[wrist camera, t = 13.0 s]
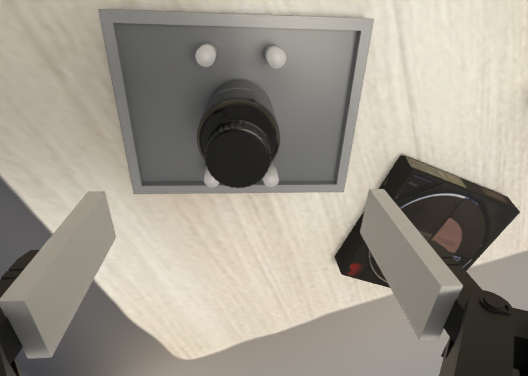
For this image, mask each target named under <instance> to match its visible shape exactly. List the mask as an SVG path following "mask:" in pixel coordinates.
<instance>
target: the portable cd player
mask: <svg viewBox="0 0 528 376" xmlns="http://www.w3.org/2000/svg"><path fill="white" fill-rule="evenodd" d="M379 189H384V190H385V191H386V192H387V194H388V195H389V196H390V197H391V198H392V200H393V201H394V202H395V203H396V204H397V206H398V207H399V208H400V209H401V211H402V212H403V213H404V214H405V215H406V217H407V218H408V219H409V220H410V221H411V223H412V224H413V225H414V226H415V228H416V229H417V230H418V231H419V232H420V234H421V235H422V236H423V237H424V239H425V240H426V241H430V240H434V241H436V242H437V243H439V244H440V245H442V246H443V247H445V248H446V249H447V250H448V251H449V253H450V254H451V255H452V256H453V258H455V259H456V261H457V262H458V263H459V265H461V266H462V267H463V269H464V270H465V271H467V270H468V269H469V267H470V266H471V265H472V264H473V263H474V262H475V261H476V260H477V259H478V258H479V257H480V255H481V254H482V253H483V252H484V251H485V250H486V249H487V248H488V247H489V246H490V244H491V243H492V242H493V241H494V240H495V239H496V238H497V237H498V236H499V235H500V234H501V232H502V231H503V230H504V229H505V228H506V227H507V226H508V225H509V224H510V223H511V222H512V220H513V219H514V218H515V217H516V216H517V215H518V214H519V213H520V211H519V210H518V209H517V208H516V207H515V205H514V204H513V203H512V202H511V200H510V199H509V198H508V197H507V196H504V195H502V194H499V193H497V192H494V191H492V190H489V189H487V188H484V187H482V186H479V185H477V184H474V183H472V182H469V181H467V180H464V179H462V178H459V177H457V176H454V175H452V174H449V173H447V172H444V171H442V170H439V169H437V168H434V167H432V166H429V165H427V164H424V163H422V162H419V161H417V160H414V159H412V158H409V157H407V156H400V157H399V158H398V160H397V161H396V163H395V164H394V166H393V168H392V169H391V171H390V172H389V174H388V175H387V177H386V178H385V180H384V181H383V183H382V184H381V186H380V188H379ZM363 216H364V212H363V214H362V215H361V217H360V218H359V220H358V221H357V223H356V225H355V226H354V228H353V229H352V231H351V232H350V234H349V235H348V237H347V238H346V240H345V242H344V243H343V245H342V246H341V248H340V249H339V251H338V252H337V254H336V255H335V259H336V262H337V264H338V267H339V269H340V272H341V274H342V275H345V276H349V277H352V278H356V279H360V280H363V281H367V282H371V283H374V284H378V285H382V286H385V287H389V288H390V286H389V284H388V282H387V280H386V279H385V277H384V275H383V273H382V271H381V270H380V268H379V266H378V264H377V262H376V261H375V259H374V257H373V255H372V253H371V252H370V250H369V248H368V246H367V244H366V243H365V241H364V239H363V237H362V235H361V233H360V230H361V225H362V221H363Z"/></svg>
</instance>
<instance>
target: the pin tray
mask: <svg viewBox="0 0 528 376" xmlns="http://www.w3.org/2000/svg"><path fill="white" fill-rule="evenodd" d="M98 10H99V15H100V20H101V25H102V31H103V36H104V41H105V46H106V52H107V57H108V62H109V67H110V72H111V78H112V83H113V88H114V93H115V98H116V104H117V109H118V114H119V119H120V125H121V130H122V135H123V140H124V145H125V151H126V156H127V161H128V166H129V172H130V177H131V182H132V187H133V192H134V194H182V193H295V192H344V188H345V183H346V177H347V171H348V165H349V160H350V154H351V148H352V142H353V137H354V131H355V125H356V119H357V114H358V108H359V102H360V97H361V91H362V85H363V79H364V74H365V68H366V62H367V56H368V51H369V45H370V39H371V33H372V28H373V22H374V19H370V18H343V17H314V16H285V15H256V14H227V13H198V12H170V11H141V10H112V9H98ZM233 80H245V81H249V82H252V83H254V84H256V85H258V86H259V87H260V88H261V89H263V90H264V92H265V93H266V94H267V96H268V97H269V99H270V101H271V104H272V107H273V110H274V113H275V117H276V120H277V124H278V127H279V132H280V146H279V150H278V153H277V155H276V158H275V159H274V161H273V162H272V163H271V165H270V167H269V168H268V172H267V173H266V174H265V176H264V177H263V178H262V179H261V180H260V181H258V182H257V183H256V184H254V185H251V186H250V187H245V188H235V187H233V188H231V187H229V186H225V185H224V184H220V183H219V182H218V181H217V180H215V179H214V177H213V176H211V175H210V172H209V171H208V170H207V166H206V165H205V161H204V160H203V158H202V157H201V155H200V152H199V149H198V145H197V130H198V126H199V123H200V120H201V118H202V115H203V113H204V110H205V108H206V105H207V103H208V100H209V98H210V96H211V95H212V93H213V92H214V91H215V90H216V89H217V88H218V87H219V86H221V85H222V84H224V83H226V82H229V81H233Z"/></svg>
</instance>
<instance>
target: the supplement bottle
mask: <svg viewBox="0 0 528 376" xmlns="http://www.w3.org/2000/svg"><path fill="white" fill-rule="evenodd" d="M197 145H198V149H199V152H200V155H201V157H202V158H203V160H204V161H205V165H206V166H207V170H208V171H209V172H210V175H211V176H213V177H214V179H215V180H217V181H218V182H219V183H220V184H224V185H225V186H229V187H231V188H233V187H235V188H245V187H250V186H251V185H254V184H256V183H257V182H258V181H260V180H261V179H262V178H263V177H264V176H265V174H266V173H267V172H268V168H269V167H270V165H271V163H272V162H273V161H274V159H275V158H276V155H277V153H278V150H279V146H280V132H279V127H278V124H277V120H276V117H275V113H274V110H273V107H272V104H271V101H270V99H269V97H268V96H267V94H266V93H265V92H264V90H263V89H261V88H260V87H259V86H258V85H256V84H254V83H252V82H249V81H245V80H233V81H229V82H226V83H224V84H222V85H221V86H219V87H218V88H217V89H216V90H215V91H214V92H213V93H212V95H211V96H210V98H209V100H208V103H207V105H206V108H205V110H204V113H203V115H202V118H201V120H200V123H199V126H198V130H197Z"/></svg>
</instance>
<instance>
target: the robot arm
mask: <svg viewBox="0 0 528 376" xmlns="http://www.w3.org/2000/svg"><path fill="white" fill-rule="evenodd" d="M360 233H361V235H362V237H363V239H364V241H365V243H366V244H367V246H368V248H369V250H370V252H371V253H372V255H373V257H374V259H375V261H376V262H377V264H378V266H379V268H380V270H381V271H382V273H383V275H384V277H385V279H386V280H387V282H388V284H389V286H390V288H391V290H392V291H393V293H394V295H395V297H396V298H397V300H398V302H399V304H400V306H401V308H402V309H403V311H404V313H405V315H406V317H407V318H408V320H409V322H410V324H411V326H412V327H413V329H414V331H415V333H416V335H417V337H418V338H419V340H426V339H439V338H440V335H441V333H442V331H443V329H445V330H446V332H447V333H448V335H449V336H450V338H449V340H448V343H447V345H446V347H445V349H444V351H443V353H442V355H441V356H442V357H444V358H443V362H442V366H441V370H440V374H439V376H528V311H525V310H520V309H516V308H512V307H511V305H510V304H509V303H508V302H507V301H506V300H505V299H503V298H502V297H500V296H498V295H496V294H494V293H492V292H489V291H484V290H482V289H481V288H480V287H479V286H478V285H477V283H476V282H475V281H474V280H473V279H472V278H471V277H470V275H469V274H468V273H467V272H466V271H465V270H464V269H463V267H462V266H461V265H459V263H458V262H457V261H456V259H455V258H453V256H452V255H451V254H450V253H449V251H448V250H447V249H446V248H445V247H443V246H442V245H440V244H439V243H437V242H436V241H434V240H430V241H426V240H425V239H424V237H423V236H422V235H421V234H420V232H419V231H418V230H417V229H416V228H415V226H414V225H413V224H412V223H411V221H410V220H409V219H408V218H407V217H406V215H405V214H404V213H403V212H402V211H401V209H400V208H399V207H398V206H397V204H396V203H395V202H394V201H393V200H392V198H391V197H390V196H389V195H388V194H387V192H386V191H385V190H384V189H369V193H368V198H367V202H366V207H365V211H364V216H363V221H362V225H361V230H360ZM115 238H116V235H115V231H114V227H113V223H112V219H111V215H110V211H109V207H108V202H107V198H106V194H105V191H102V192H88V193H87V194H86V195H85V196H84V197H83V199H82V200H81V201H80V202H79V204H78V205H77V206H76V207H75V208H74V210H73V211H72V212H71V213H70V214H69V216H68V217H67V218H66V219H65V220H64V222H63V223H62V224H61V225H60V227H59V228H58V229H57V230H56V231H55V233H54V234H53V235H52V236H51V237H50V239H49V240H48V241H47V242H46V243H45V245H44V246H43V247H42V248H41V250H30V251H29V252H27V253H26V254H25V255H23V256H22V257H20V258H19V259H17V260H16V262H15V263H14V264H13V265H12V266H11V267H10V268H9V271H7V272H6V273H5V274H4V275H3V276H2V277H1V280H0V376H22V375H21V372H20V369H19V366H18V364H17V362H16V360H15V358H16V356H17V355H18V353H19V352H20V350H21V349H23V350H24V352H25V354H26V356H27V358H49V357H52V355H53V354H54V352H55V350H56V348H57V346H58V344H59V342H60V340H61V339H62V337H63V335H64V333H65V331H66V329H67V327H68V325H69V324H70V322H71V320H72V318H73V316H74V314H75V313H76V311H77V309H78V307H79V305H80V303H81V301H82V299H83V298H84V296H85V294H86V292H87V290H88V288H89V286H90V284H91V283H92V281H93V279H94V277H95V275H96V273H97V272H98V270H99V268H100V266H101V264H102V262H103V260H104V259H105V257H106V255H107V253H108V251H109V249H110V247H111V246H112V244H113V242H114V240H115Z"/></svg>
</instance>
